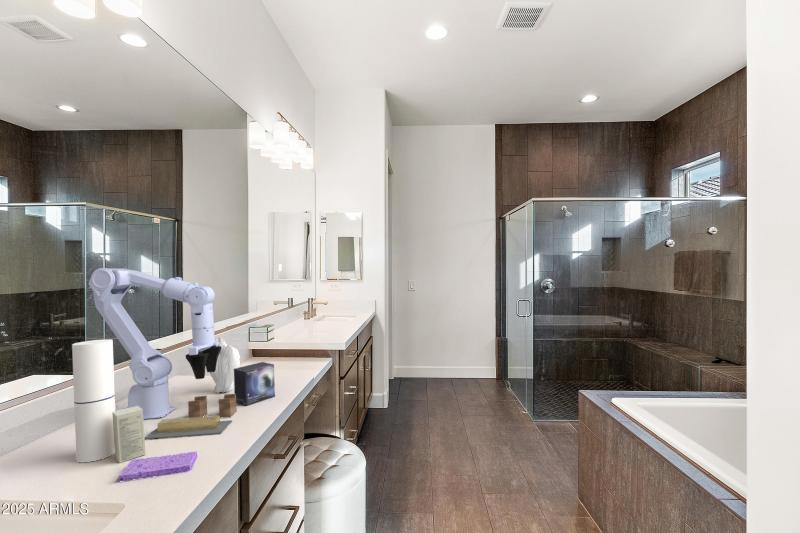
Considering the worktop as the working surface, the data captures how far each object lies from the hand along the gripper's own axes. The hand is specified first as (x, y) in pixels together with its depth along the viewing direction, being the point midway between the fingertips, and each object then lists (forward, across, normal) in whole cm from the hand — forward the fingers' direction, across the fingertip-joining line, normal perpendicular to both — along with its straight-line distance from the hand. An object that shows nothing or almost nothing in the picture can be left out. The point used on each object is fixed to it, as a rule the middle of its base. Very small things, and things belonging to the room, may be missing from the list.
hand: (205, 375), depth 116 cm
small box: (+11, +8, -11) cm, 17 cm away
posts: (+10, -5, -3) cm, 12 cm away
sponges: (+11, -35, -5) cm, 37 cm away
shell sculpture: (+10, +19, +2) cm, 22 cm away
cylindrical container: (+10, -26, +13) cm, 31 cm away
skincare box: (+10, -28, +5) cm, 30 cm away
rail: (+10, -15, -2) cm, 18 cm away
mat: (+10, -15, -2) cm, 18 cm away
